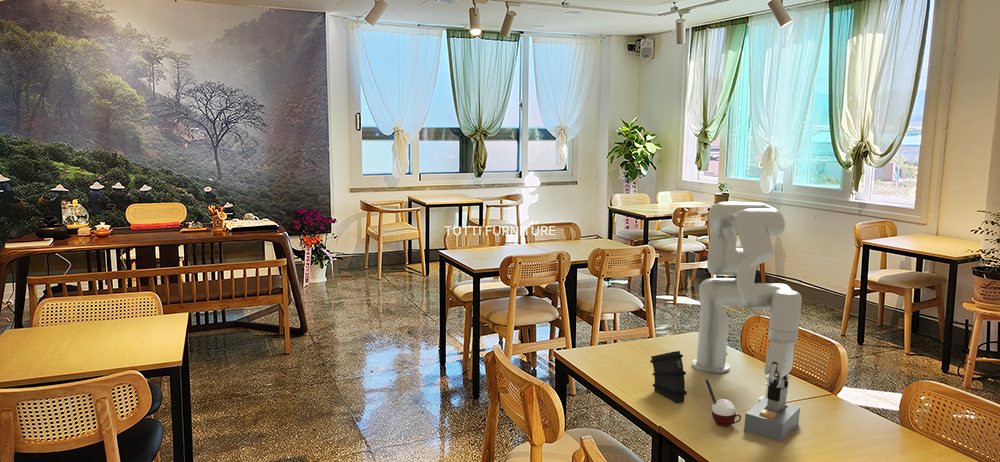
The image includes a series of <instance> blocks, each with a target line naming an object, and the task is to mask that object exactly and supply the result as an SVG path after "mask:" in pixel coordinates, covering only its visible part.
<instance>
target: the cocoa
mask: <svg viewBox="0 0 1000 462" xmlns="http://www.w3.org/2000/svg"><path fill="white" fill-rule="evenodd" d="M705 383H706V386H707V388H708V392H709V394H710V398H711V401H712V402H713V404H712V405H711V415H712V419H713V422H714V423H715V424H717V425H718V426H720V427H729V426H732V425H735V424H737V423H739V422H740V421H741V419H742V416H741V414H739V413H737V412H736V407H735V405H734V404H733V402H732V401H731V400H728V399H726V398H719V399H718V400H717V398H716V396H715V393H714V391H713V388H712V385H711V382H710V379H709V378H708V377H707V378H706V379H705ZM736 417H739V419H738V420H736Z"/></svg>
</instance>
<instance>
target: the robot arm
mask: <svg viewBox="0 0 1000 462" xmlns="http://www.w3.org/2000/svg"><path fill="white" fill-rule="evenodd" d="M708 225H709V232H710V236H709V244H708V245H709V246H708V252H707V260H706V261H707V262H706V263H707V264H706V266H707V267H706V268H707V270H708V272H709V274H711V275H714V276H720V277H710V278H706V279H703V280H702V281H701V283H700V284H699V288H698V295H699V304H700V305H699V307H700V308H699V309H700V311H699V324H698V325H699V326H698V338H697V339H698V340H697V352H696V353H697V354H696V358H695V359H693V360H692V361H691V366H692V367H693V368H694V369H696V370H698V371H699V372H700V371H701V372H704V373H710V374H725V373H727V372H729V371H730V369H731V366H730V364H729V363H727V362H726V359H727V356H728V352H727V347H728V346H727V345H728V336H729V333H728V332H729V316H728V314H727V313H726V311H725V310H724V308H723V307H744V306H745V308H747V309H749V310H752V311H753V310H757V311H759V310H760V311H761V310H763V311H764V310H767V311H768V310H769V311H770V314H769V322H768V324H769V325H768V333H767V334H768V335H767V339H769V342H768V345H767V352H766V358H765V363H764V364H765V365H764V374H765V376H767V375H769V377H768V379H769V383H768V395H767V398H768V399H770V400H773V401H777V402H779V401H780V393H781V388H780V383H781V378H784V379H785V382H784V386H785V387H787V391H788V390H789V377H790V376H789V375H790V372H791V371H792V369H793V364H794V356H795V354H794V353H795V344H797V343H798V340H799V332H800V331H799V328H800V317H801V310H802V309H801V307H802V298H803V297H802V295H801V293H800V292H798V291H796V290H793V288H791V286H789V285H788V284H785V283H779V282H777V283H775V282H774V283H772V282H771V283H770V282H769V283H768V282H767V283H766V282H755V280H756V279H755V278H756V272H757V266H759V265H760V264H763V263H765V262H768V260H770V259H771V258H772V257H773V256H774V254H775V248H774V245H773V242H772V240H771V237H778V236H780V235H782V234H783V232H784V230H785V227H786V226H785V225H786V221H785V218H784V216H783V214H782V212H781V211H780V210H778V209H777V208H775V207H773V206H771V205H768V204H766V203H762V202H755V201H754V202H753V201H751V202H750V201H747V202H746V201H720V202H716V203H713V204H712V205H711V207H709V211H708ZM735 229H736V230H735ZM737 235H738V236H737ZM738 239H739V243H740V245H741V247H737V241H738ZM721 276H724V277H721ZM728 277H729V278H728ZM734 277H735V278H734ZM769 373H770V374H769ZM777 374H778V376H777ZM775 378H778V381H777V380H775Z"/></svg>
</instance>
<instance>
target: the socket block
mask: <svg viewBox="0 0 1000 462" xmlns="http://www.w3.org/2000/svg"><path fill="white" fill-rule="evenodd" d="M767 401H768V398H763V399H762V400H761V401H759V400H758V402H757V403H756V404H755V405H754V406H752V407H751V408H750V409H749V410H748V411H746V412H745V413H744V414H745V416H744V427H743V431H744V432H748V433H751V434H754V435H757V436H761V437H764V438H767V439H771V440H774V441H777V442H780V443H782V442H783V441H784V440H786V438H787V437H788V436H789V435H790V434H791V432H793V431H794V429H795V428H796V427H798V425H799V423H800V412H801V407H800V406H799V405H797V406H796V405H794V404H789V403H787V402H786V407H785V410H784V411H783V412H782V413H777V412H774V411H770V410H767Z"/></svg>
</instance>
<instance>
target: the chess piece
mask: <svg viewBox="0 0 1000 462" xmlns="http://www.w3.org/2000/svg"><path fill="white" fill-rule="evenodd" d="M769 374H770V373H769ZM769 374H767V375H765V378H766V382H765V383H764V385H765V386H766V389H765V393H764V395H762V396H760V397H758V402H759V401H761V400H762V399H763V398H767V395H768V383H769V379H768V377H769Z"/></svg>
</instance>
